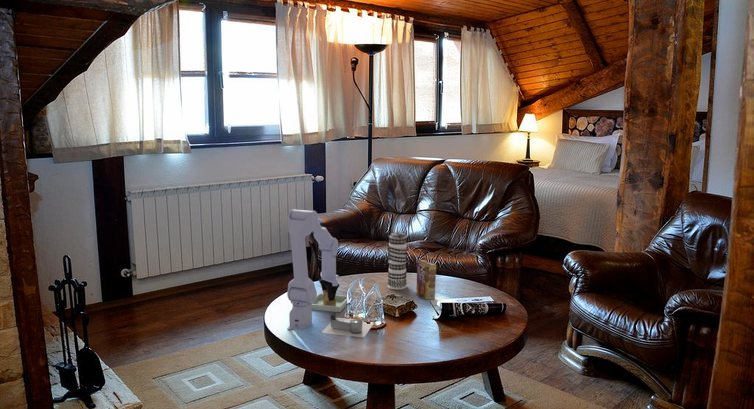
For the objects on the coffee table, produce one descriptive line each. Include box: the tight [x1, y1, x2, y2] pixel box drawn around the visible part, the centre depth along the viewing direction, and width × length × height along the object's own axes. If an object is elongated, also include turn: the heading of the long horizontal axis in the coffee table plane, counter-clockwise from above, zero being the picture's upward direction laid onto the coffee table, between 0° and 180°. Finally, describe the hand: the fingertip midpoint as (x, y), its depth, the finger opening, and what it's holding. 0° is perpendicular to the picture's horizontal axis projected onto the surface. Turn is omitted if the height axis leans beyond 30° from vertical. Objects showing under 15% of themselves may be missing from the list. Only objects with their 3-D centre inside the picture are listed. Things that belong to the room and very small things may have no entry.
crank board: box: [321, 316, 374, 339], centre depth 223 cm, size 16×16×1 cm
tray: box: [312, 293, 348, 313], centre depth 246 cm, size 14×14×3 cm
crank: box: [329, 312, 363, 334], centre depth 219 cm, size 13×4×5 cm, turn 66°
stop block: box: [322, 290, 337, 306], centre depth 246 cm, size 4×4×6 cm
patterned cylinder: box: [387, 231, 409, 291], centre depth 272 cm, size 9×9×25 cm
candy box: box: [415, 259, 437, 301], centre depth 259 cm, size 9×4×15 cm, turn 31°
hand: (329, 298), depth 246 cm, fingers open, 5 cm apart
